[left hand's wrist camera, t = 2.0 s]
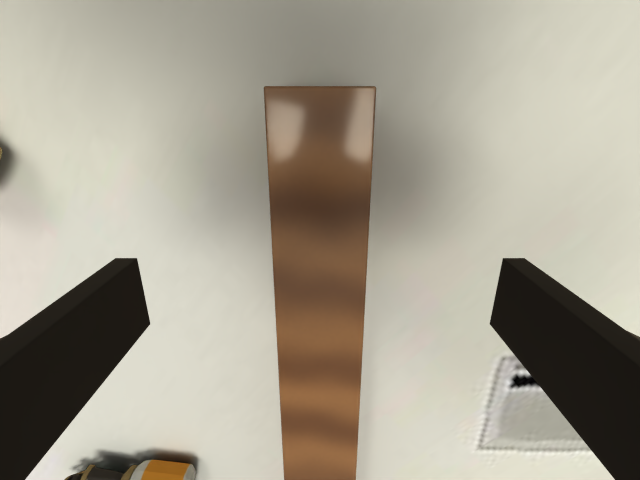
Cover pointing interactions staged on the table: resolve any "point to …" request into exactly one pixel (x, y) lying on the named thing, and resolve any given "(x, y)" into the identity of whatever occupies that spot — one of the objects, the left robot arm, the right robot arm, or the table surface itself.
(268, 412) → the table surface
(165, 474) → the spray gun
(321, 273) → the post
